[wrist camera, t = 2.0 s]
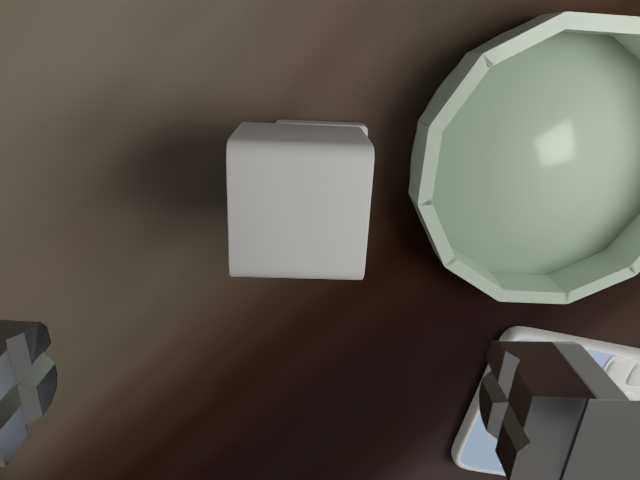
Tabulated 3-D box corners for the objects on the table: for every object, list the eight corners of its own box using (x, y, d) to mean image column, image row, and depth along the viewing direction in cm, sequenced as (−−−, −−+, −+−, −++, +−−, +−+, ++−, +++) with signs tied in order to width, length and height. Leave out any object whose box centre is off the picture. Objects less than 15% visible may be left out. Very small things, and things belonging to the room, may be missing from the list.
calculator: (657, 486, 42) (672, 506, 40) (444, 453, 40) (450, 472, 38) (739, 365, 37) (761, 380, 36) (503, 318, 35) (513, 333, 33)
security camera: (249, 110, 28) (223, 141, 19) (366, 115, 29) (396, 148, 20) (250, 211, 31) (227, 282, 22) (358, 215, 31) (382, 286, 22)
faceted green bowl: (627, 284, 34) (658, 307, 31) (394, 275, 33) (403, 297, 30) (714, 28, 28) (763, 26, 25) (430, 7, 27) (446, 2, 24)
